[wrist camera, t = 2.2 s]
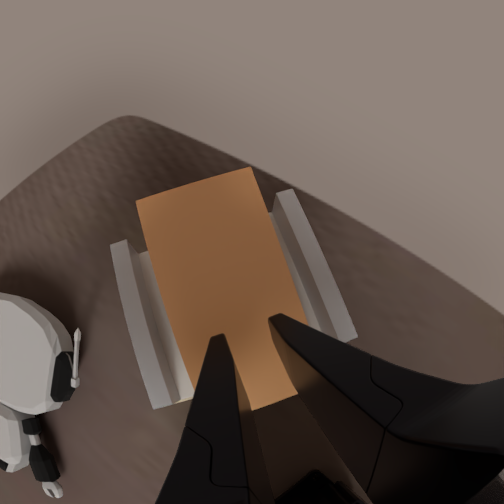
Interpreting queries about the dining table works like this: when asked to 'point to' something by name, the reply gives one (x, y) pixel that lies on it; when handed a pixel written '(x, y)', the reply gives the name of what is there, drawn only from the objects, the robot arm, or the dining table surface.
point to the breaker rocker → (222, 276)
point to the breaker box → (157, 323)
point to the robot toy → (32, 384)
